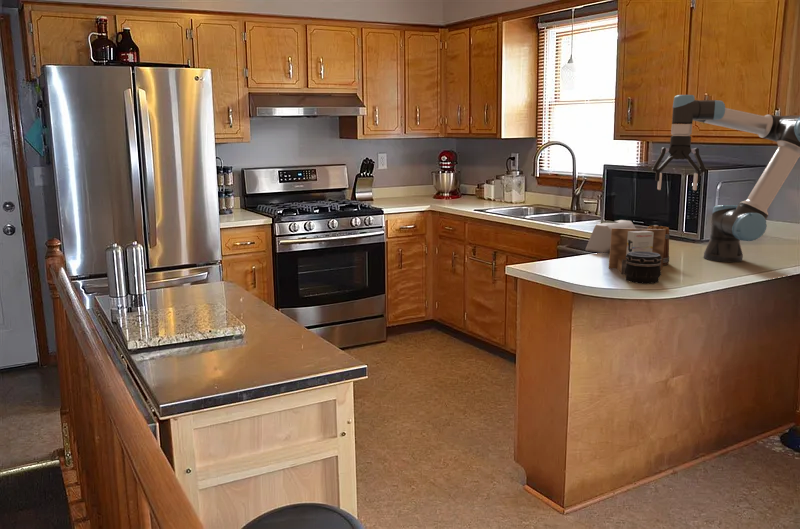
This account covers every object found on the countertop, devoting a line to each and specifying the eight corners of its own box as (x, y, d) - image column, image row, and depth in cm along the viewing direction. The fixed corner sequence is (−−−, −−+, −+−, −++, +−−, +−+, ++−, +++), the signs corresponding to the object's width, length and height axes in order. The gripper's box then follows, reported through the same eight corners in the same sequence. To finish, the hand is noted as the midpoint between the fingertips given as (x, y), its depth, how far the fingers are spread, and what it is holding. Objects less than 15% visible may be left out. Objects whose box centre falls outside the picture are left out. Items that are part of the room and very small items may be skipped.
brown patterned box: (661, 269, 279) (664, 229, 276) (668, 275, 269) (671, 233, 266) (608, 268, 282) (611, 227, 279) (613, 273, 271) (616, 232, 268)
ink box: (644, 260, 278) (646, 230, 275) (652, 262, 273) (654, 231, 271) (625, 261, 275) (627, 230, 273) (632, 263, 271) (634, 232, 268)
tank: (617, 255, 309) (619, 227, 307) (584, 251, 320) (586, 223, 318) (644, 249, 327) (646, 222, 324) (612, 244, 338) (614, 218, 335)
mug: (671, 266, 287) (674, 229, 284) (643, 265, 289) (646, 228, 286) (664, 259, 302) (667, 224, 299) (638, 258, 304) (641, 223, 301)
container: (622, 282, 256) (624, 255, 254) (624, 275, 268) (626, 249, 266) (660, 285, 252) (662, 258, 250) (661, 278, 263) (663, 252, 261)
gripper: (711, 135, 282) (706, 189, 286) (645, 135, 284) (642, 188, 288) (717, 135, 274) (712, 191, 278) (650, 135, 277) (646, 190, 281)
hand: (676, 189), depth 283 cm, fingers open, 13 cm apart
